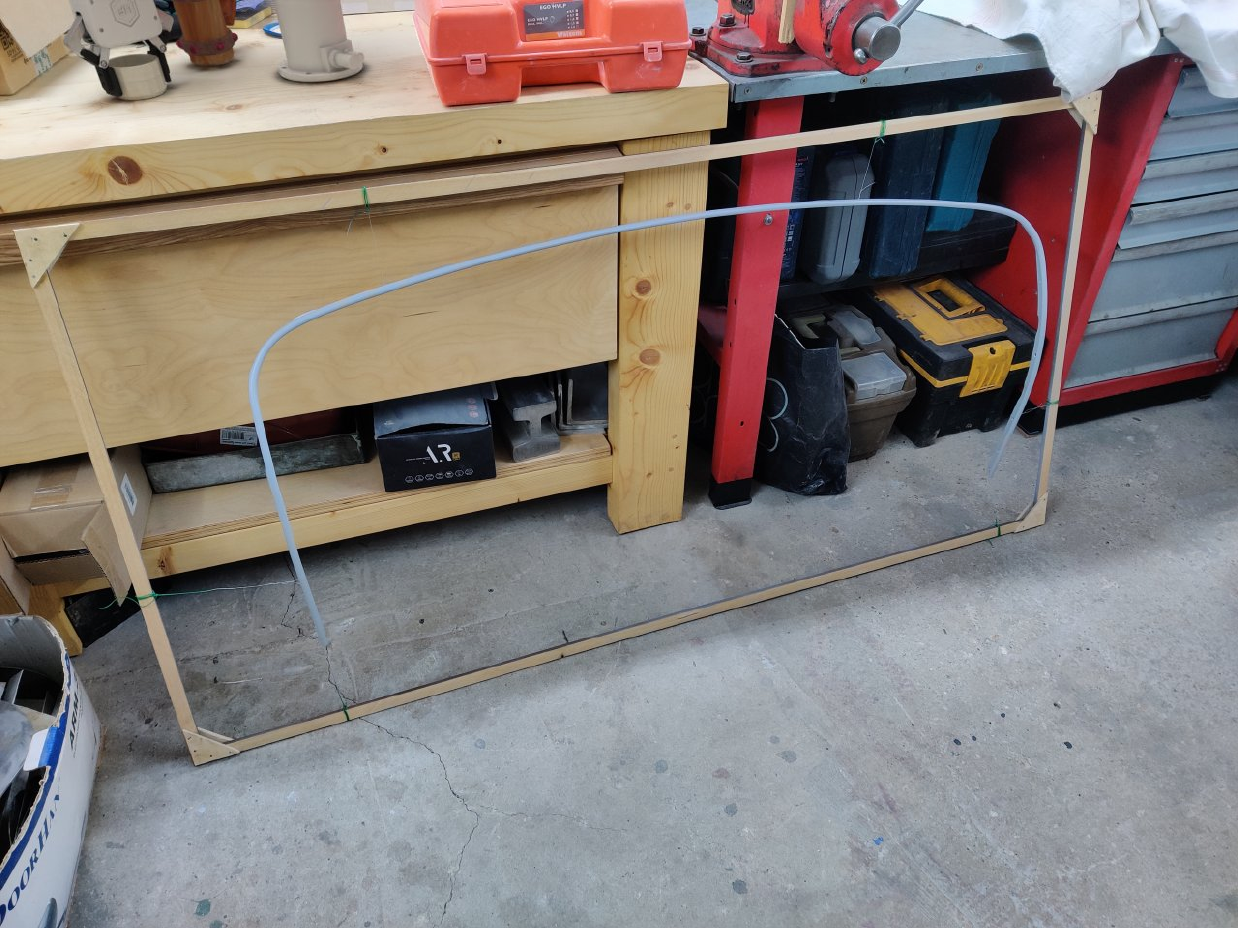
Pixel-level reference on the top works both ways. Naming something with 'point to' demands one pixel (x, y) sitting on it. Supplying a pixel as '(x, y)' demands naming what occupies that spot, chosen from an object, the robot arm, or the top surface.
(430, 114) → the top surface
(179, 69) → the top surface
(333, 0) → the robot arm
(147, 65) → the bowl
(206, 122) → the top surface
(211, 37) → the mug
